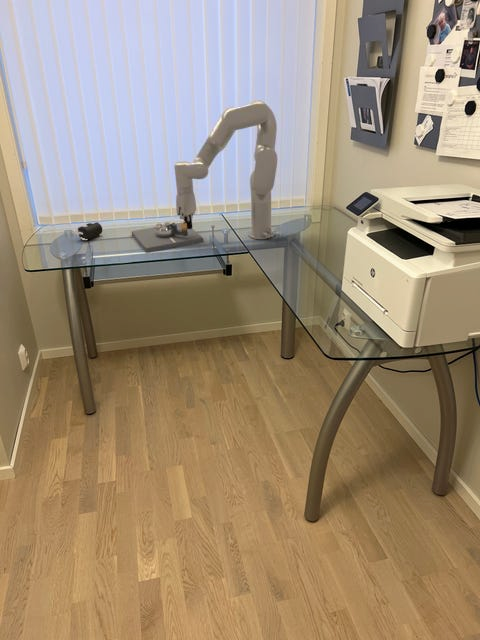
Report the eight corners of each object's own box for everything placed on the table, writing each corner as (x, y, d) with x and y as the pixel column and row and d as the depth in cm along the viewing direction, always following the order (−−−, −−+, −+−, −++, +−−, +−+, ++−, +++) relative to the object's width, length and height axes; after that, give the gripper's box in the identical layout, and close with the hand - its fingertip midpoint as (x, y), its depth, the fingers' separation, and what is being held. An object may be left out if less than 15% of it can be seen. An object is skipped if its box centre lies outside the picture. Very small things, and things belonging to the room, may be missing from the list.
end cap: (90, 242, 229) (87, 228, 226) (79, 240, 232) (76, 227, 229) (103, 235, 237) (101, 222, 234) (93, 234, 240) (90, 221, 237)
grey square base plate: (203, 241, 224) (203, 237, 223) (146, 252, 214) (145, 247, 213) (184, 225, 246) (184, 221, 245) (131, 234, 236) (131, 230, 235)
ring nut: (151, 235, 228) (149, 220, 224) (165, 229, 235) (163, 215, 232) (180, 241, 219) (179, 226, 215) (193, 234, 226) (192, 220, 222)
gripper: (188, 185, 223) (191, 223, 232) (168, 193, 212) (173, 232, 220) (201, 186, 219) (204, 225, 228) (182, 194, 208) (186, 234, 217)
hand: (188, 228), depth 224 cm, fingers closed
